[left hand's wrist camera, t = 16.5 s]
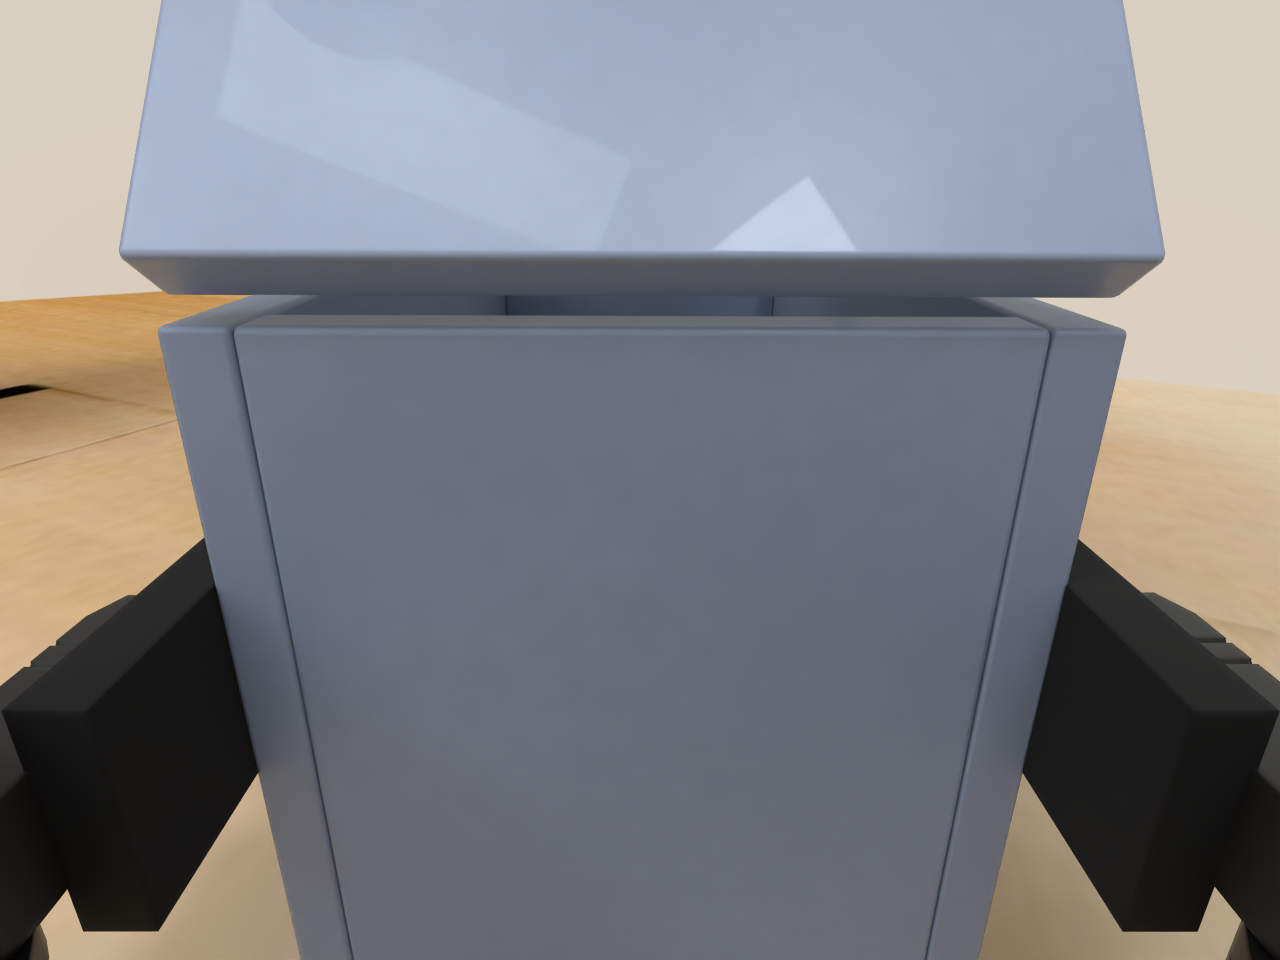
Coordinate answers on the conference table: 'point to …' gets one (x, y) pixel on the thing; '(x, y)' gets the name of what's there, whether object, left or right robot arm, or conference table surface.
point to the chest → (640, 609)
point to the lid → (642, 149)
